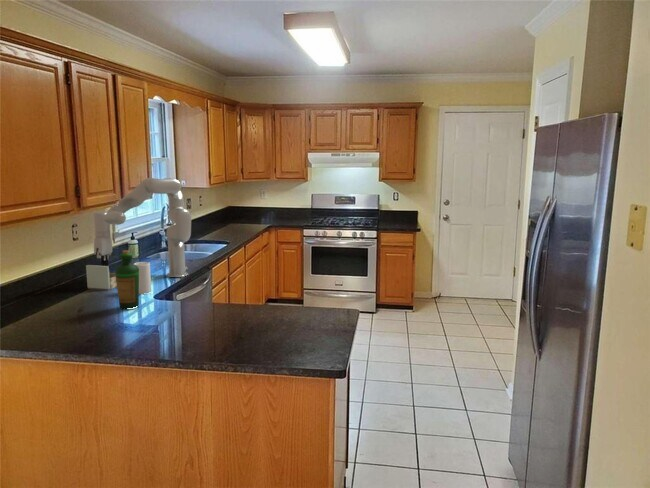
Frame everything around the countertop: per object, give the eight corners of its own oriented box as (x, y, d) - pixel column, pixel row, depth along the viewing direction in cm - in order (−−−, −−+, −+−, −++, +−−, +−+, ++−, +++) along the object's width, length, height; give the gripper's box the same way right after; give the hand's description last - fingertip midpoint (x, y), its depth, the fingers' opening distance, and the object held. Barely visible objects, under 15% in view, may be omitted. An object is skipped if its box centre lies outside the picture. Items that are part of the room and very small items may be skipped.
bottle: (112, 308, 219) (108, 251, 214) (130, 303, 229) (127, 248, 224) (127, 312, 215) (124, 254, 210) (146, 306, 224) (143, 250, 219)
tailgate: (89, 289, 251) (87, 264, 249) (110, 290, 249) (108, 266, 247) (87, 289, 250) (85, 265, 248) (108, 291, 248) (107, 266, 245)
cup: (154, 290, 251) (152, 262, 248) (146, 295, 243) (145, 265, 240) (139, 290, 252) (138, 261, 249) (132, 294, 244) (130, 264, 241)
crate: (103, 283, 263) (102, 272, 262) (124, 284, 261) (123, 273, 260) (89, 289, 252) (88, 277, 250) (111, 290, 249) (110, 279, 248)
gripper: (105, 232, 258) (107, 263, 261) (87, 236, 244) (89, 269, 247) (117, 232, 257) (119, 264, 260) (100, 236, 242) (102, 270, 246)
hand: (104, 267), depth 254 cm, fingers closed
